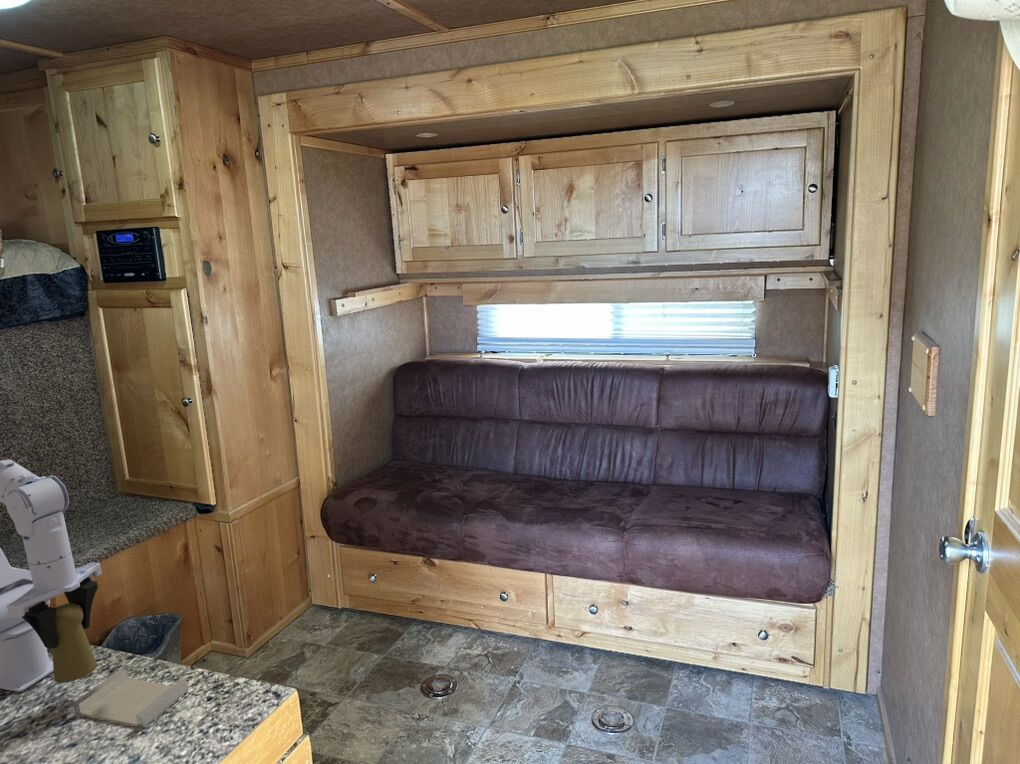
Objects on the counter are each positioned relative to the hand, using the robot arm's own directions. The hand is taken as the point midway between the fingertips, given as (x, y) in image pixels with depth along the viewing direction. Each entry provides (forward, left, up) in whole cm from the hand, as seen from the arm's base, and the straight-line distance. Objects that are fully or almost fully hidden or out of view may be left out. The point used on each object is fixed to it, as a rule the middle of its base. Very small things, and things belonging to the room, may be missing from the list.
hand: (67, 636), depth 114 cm
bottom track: (+10, +1, -10) cm, 15 cm away
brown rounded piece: (0, 0, -6) cm, 6 cm away
